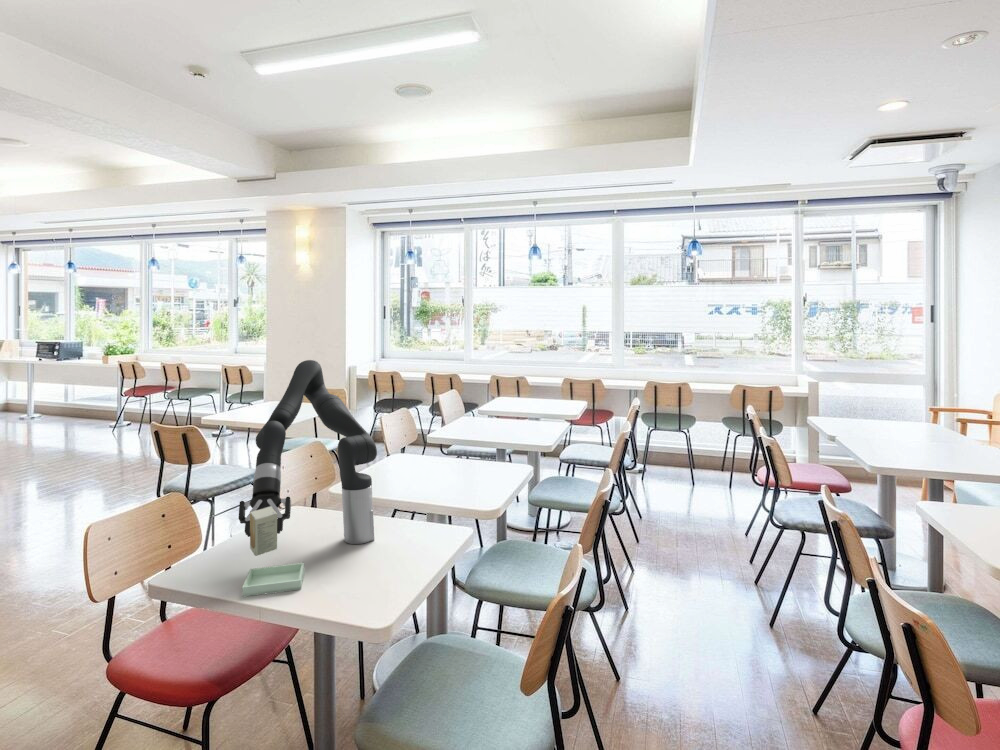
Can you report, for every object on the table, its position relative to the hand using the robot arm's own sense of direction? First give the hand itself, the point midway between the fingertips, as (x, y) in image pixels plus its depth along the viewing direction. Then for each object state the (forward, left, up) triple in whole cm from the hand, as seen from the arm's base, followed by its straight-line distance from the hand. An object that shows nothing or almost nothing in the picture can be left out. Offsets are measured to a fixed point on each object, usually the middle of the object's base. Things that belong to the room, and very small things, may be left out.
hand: (263, 533), depth 159 cm
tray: (-4, +10, -10) cm, 15 cm away
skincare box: (+1, -1, -5) cm, 5 cm away
